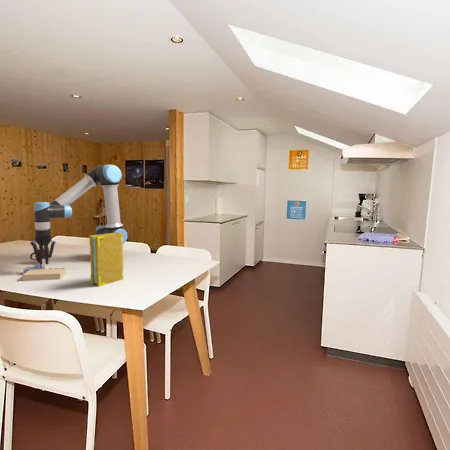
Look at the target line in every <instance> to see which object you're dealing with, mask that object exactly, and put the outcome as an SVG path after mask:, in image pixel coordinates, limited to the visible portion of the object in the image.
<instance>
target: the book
mask: <svg viewBox="0 0 450 450" xmlns="http://www.w3.org/2000/svg"><path fill="white" fill-rule="evenodd" d="M88 238H89V239H88V240H89V249H90V251H89V254H90V285H94V286H95V285H96V286H97V287H101V286H105V285H107V284H111V283H115V282H118V281H122V280H124V249H123V248H124V244H123V233H109V234H101V235H96V234H94V235H93V234H92V235H89V236H88Z"/></svg>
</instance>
